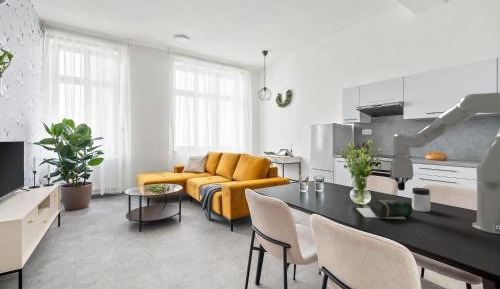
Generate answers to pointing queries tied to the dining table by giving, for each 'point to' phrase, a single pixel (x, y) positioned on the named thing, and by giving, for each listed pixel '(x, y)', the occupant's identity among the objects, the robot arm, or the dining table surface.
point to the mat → (369, 214)
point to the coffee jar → (391, 208)
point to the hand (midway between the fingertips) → (401, 190)
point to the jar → (421, 199)
